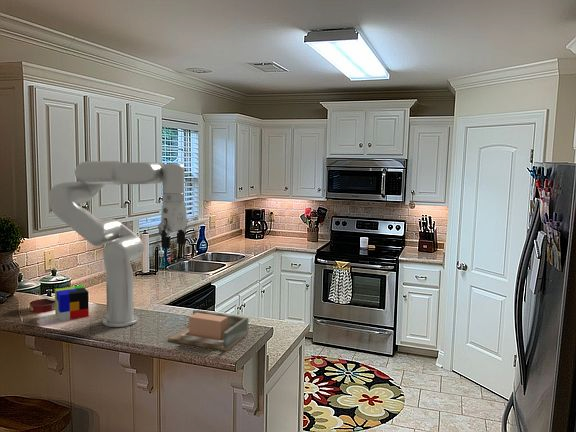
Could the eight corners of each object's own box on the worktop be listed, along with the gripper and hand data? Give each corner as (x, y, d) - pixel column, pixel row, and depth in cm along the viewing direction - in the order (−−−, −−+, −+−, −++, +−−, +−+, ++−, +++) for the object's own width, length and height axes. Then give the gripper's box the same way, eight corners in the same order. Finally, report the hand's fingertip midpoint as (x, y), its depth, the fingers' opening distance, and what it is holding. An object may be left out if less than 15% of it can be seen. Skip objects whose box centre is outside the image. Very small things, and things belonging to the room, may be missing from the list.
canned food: (35, 318, 194) (37, 294, 197) (61, 315, 195) (62, 291, 198) (22, 313, 183) (24, 288, 187) (49, 310, 184) (50, 285, 187)
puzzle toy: (60, 321, 177) (59, 295, 176) (55, 313, 185) (54, 289, 184) (88, 316, 183) (88, 291, 182) (82, 309, 191) (82, 285, 190)
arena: (168, 340, 161) (168, 323, 160) (194, 325, 177) (194, 309, 176) (226, 351, 154) (226, 333, 153) (248, 333, 170) (248, 317, 169)
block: (227, 336, 163) (227, 317, 162) (220, 341, 158) (220, 321, 157) (196, 331, 167) (196, 312, 166) (189, 336, 162) (189, 316, 161)
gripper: (168, 200, 160) (168, 250, 162) (195, 197, 176) (195, 243, 178) (149, 199, 162) (150, 248, 164) (177, 196, 178) (177, 241, 180)
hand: (173, 245), depth 171 cm, fingers open, 9 cm apart
